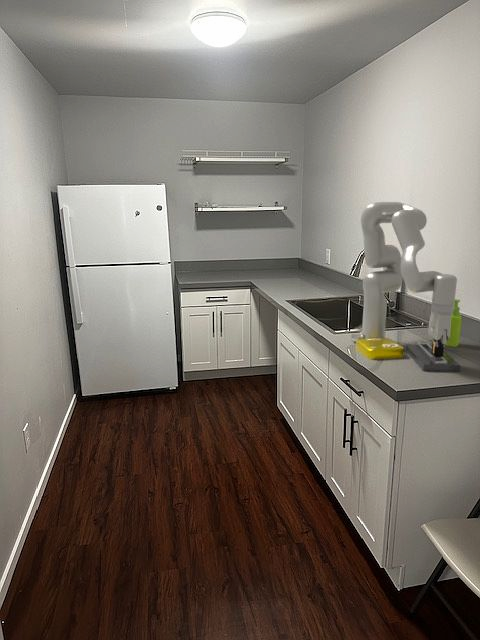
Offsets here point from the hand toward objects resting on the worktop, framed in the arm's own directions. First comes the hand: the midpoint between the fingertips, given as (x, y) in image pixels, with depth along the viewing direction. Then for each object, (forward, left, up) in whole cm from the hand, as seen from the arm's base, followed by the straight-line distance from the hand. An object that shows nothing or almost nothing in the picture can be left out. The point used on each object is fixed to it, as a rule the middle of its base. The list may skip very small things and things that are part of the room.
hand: (437, 355), depth 171 cm
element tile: (-18, +14, -5) cm, 24 cm away
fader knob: (0, 0, -1) cm, 1 cm away
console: (0, +6, -4) cm, 7 cm away
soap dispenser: (+15, +27, -4) cm, 31 cm away
